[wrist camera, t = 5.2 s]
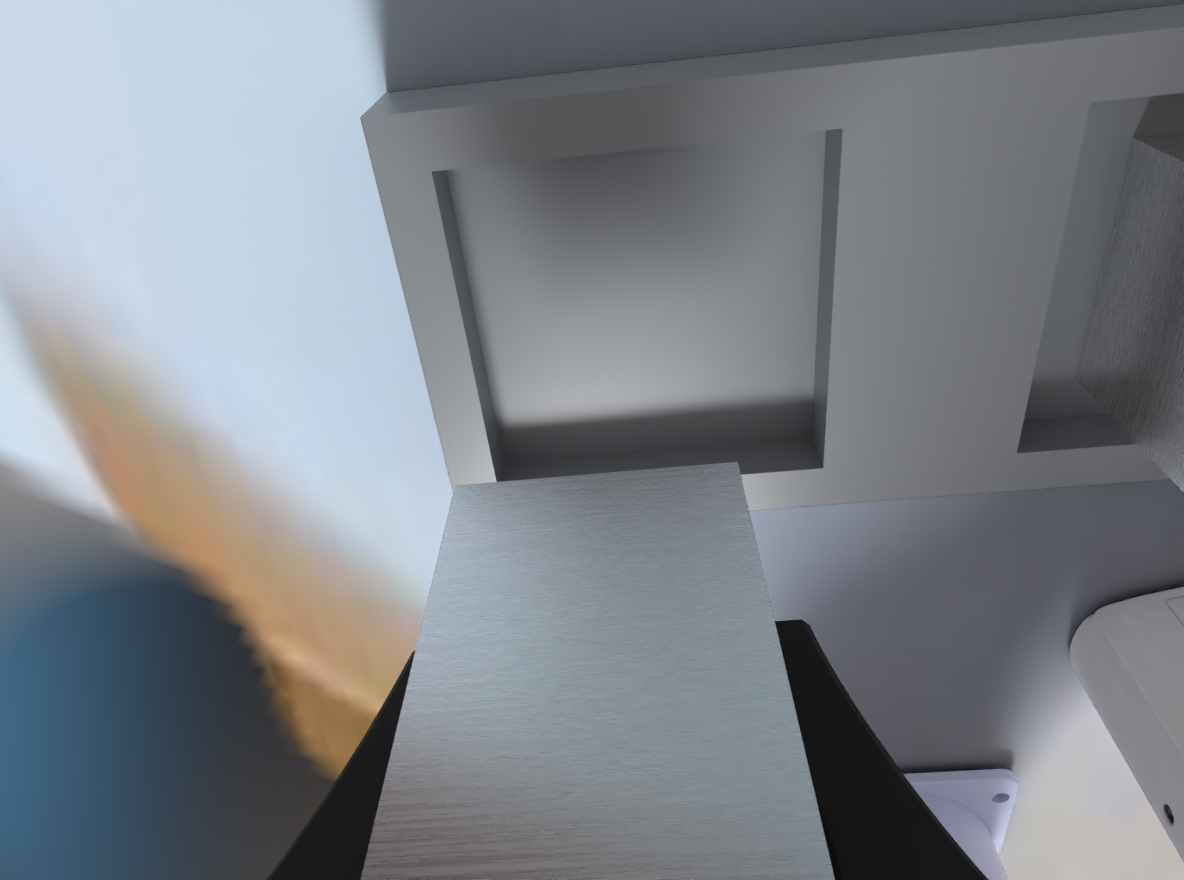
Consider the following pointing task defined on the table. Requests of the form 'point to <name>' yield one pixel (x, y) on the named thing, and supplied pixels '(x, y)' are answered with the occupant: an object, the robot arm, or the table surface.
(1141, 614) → the white tombstone slab
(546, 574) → the block
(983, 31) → the pallet
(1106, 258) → the block
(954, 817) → the robot arm
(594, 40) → the table surface
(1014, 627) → the table surface
